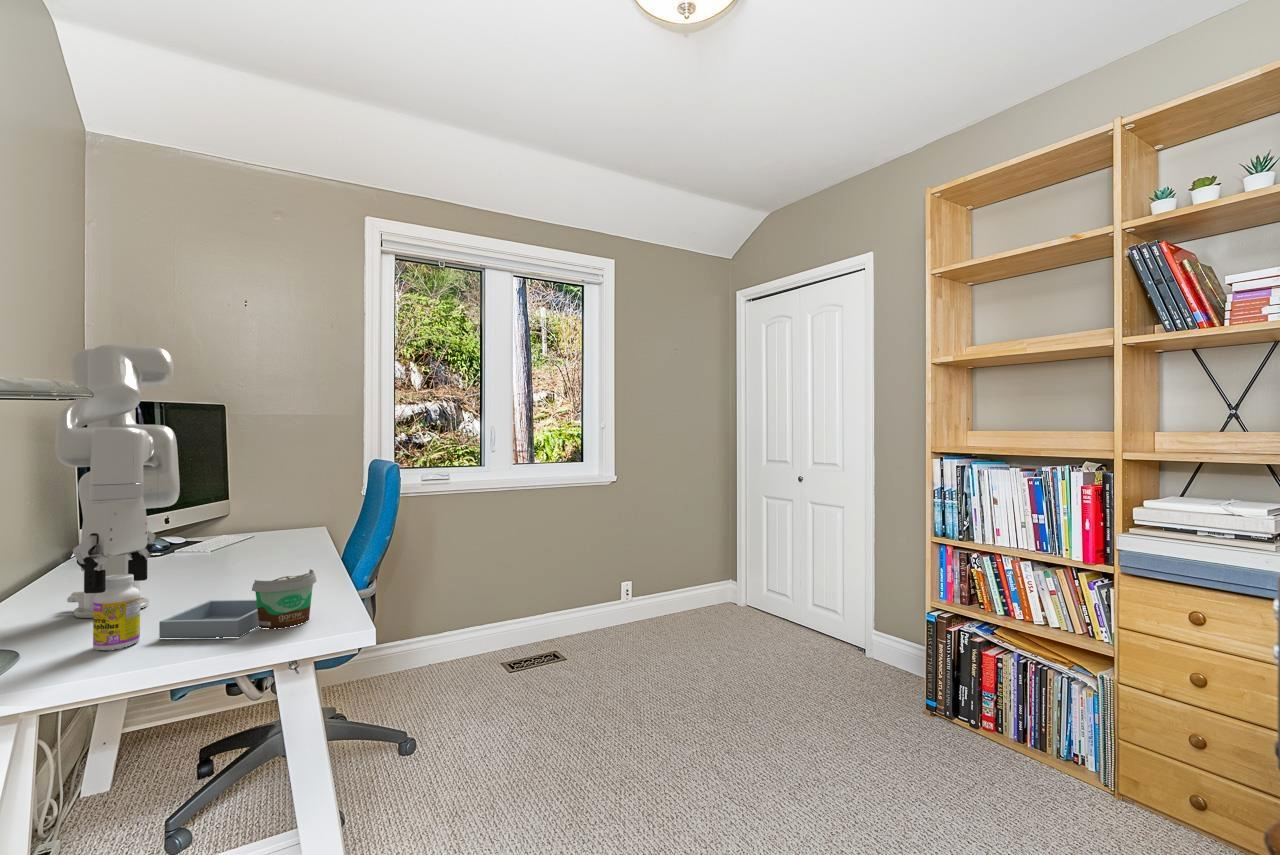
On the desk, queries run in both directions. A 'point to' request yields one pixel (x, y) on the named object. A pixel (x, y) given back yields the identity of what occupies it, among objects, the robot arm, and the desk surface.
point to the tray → (212, 620)
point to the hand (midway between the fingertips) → (117, 586)
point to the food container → (284, 600)
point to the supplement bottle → (116, 614)
